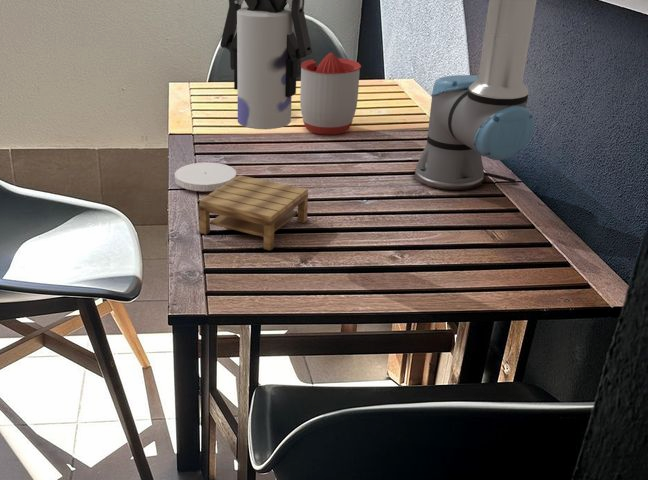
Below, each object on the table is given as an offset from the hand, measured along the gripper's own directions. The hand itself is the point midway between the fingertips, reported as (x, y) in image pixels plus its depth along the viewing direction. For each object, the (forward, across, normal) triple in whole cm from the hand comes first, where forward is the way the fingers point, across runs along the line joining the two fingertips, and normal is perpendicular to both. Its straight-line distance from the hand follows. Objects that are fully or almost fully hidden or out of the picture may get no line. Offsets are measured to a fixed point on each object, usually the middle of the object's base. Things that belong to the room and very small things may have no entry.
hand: (264, 91), depth 149 cm
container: (+6, 0, 0) cm, 6 cm away
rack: (+28, +2, 0) cm, 28 cm away
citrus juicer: (+28, +16, -65) cm, 73 cm away
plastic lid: (+28, +23, -15) cm, 39 cm away
